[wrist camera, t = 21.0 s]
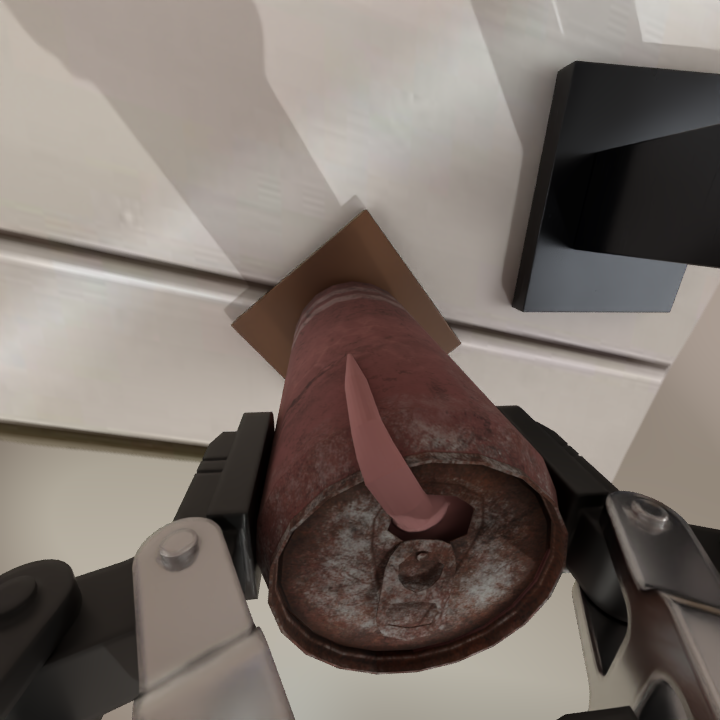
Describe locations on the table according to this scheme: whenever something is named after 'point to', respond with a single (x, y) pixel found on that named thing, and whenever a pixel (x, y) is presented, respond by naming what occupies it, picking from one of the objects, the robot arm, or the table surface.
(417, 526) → the can
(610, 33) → the table surface
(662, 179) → the bracket
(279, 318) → the coaster
